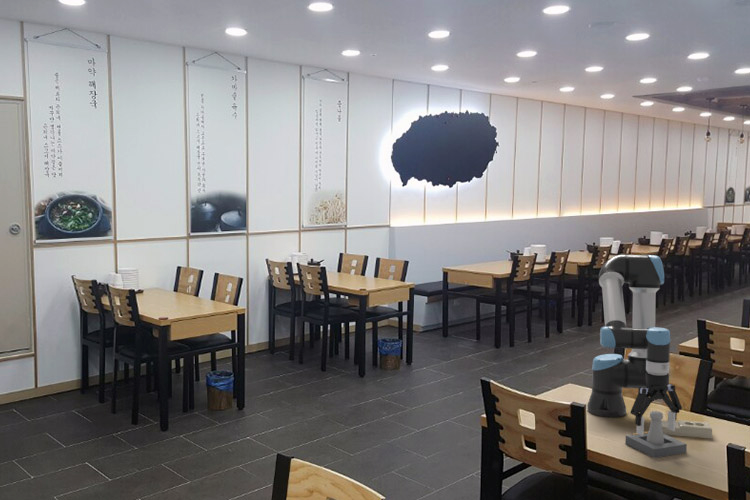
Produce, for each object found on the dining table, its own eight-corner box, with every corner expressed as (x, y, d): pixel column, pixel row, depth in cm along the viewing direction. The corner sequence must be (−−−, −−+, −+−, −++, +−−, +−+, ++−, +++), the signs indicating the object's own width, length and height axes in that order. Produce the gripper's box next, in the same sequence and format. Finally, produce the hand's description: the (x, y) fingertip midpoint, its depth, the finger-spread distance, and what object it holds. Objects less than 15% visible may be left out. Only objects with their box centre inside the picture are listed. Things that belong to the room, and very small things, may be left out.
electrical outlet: (656, 417, 254) (708, 422, 249) (656, 428, 254) (708, 432, 249) (659, 424, 247) (712, 428, 242) (658, 434, 248) (712, 439, 242)
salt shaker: (643, 445, 236) (644, 409, 235) (658, 444, 237) (660, 409, 235) (651, 451, 230) (652, 414, 229) (667, 450, 231) (668, 414, 230)
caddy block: (625, 443, 238) (625, 434, 238) (656, 438, 242) (657, 430, 242) (653, 457, 225) (653, 448, 224) (686, 452, 229) (686, 443, 229)
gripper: (635, 378, 224) (634, 440, 225) (694, 372, 232) (692, 431, 233) (620, 373, 231) (619, 432, 232) (677, 366, 239) (676, 424, 241)
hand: (655, 432), depth 233 cm, fingers open, 13 cm apart
